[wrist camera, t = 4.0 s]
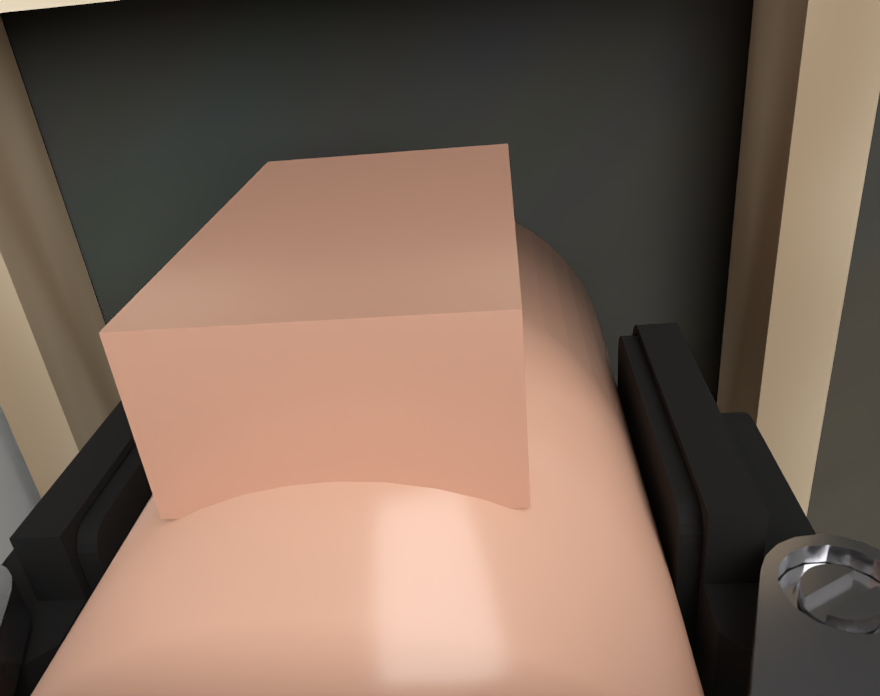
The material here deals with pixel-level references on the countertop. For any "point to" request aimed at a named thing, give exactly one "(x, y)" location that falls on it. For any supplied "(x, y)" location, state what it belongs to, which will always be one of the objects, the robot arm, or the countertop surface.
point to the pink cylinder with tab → (376, 457)
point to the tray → (13, 488)
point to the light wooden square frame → (750, 270)
